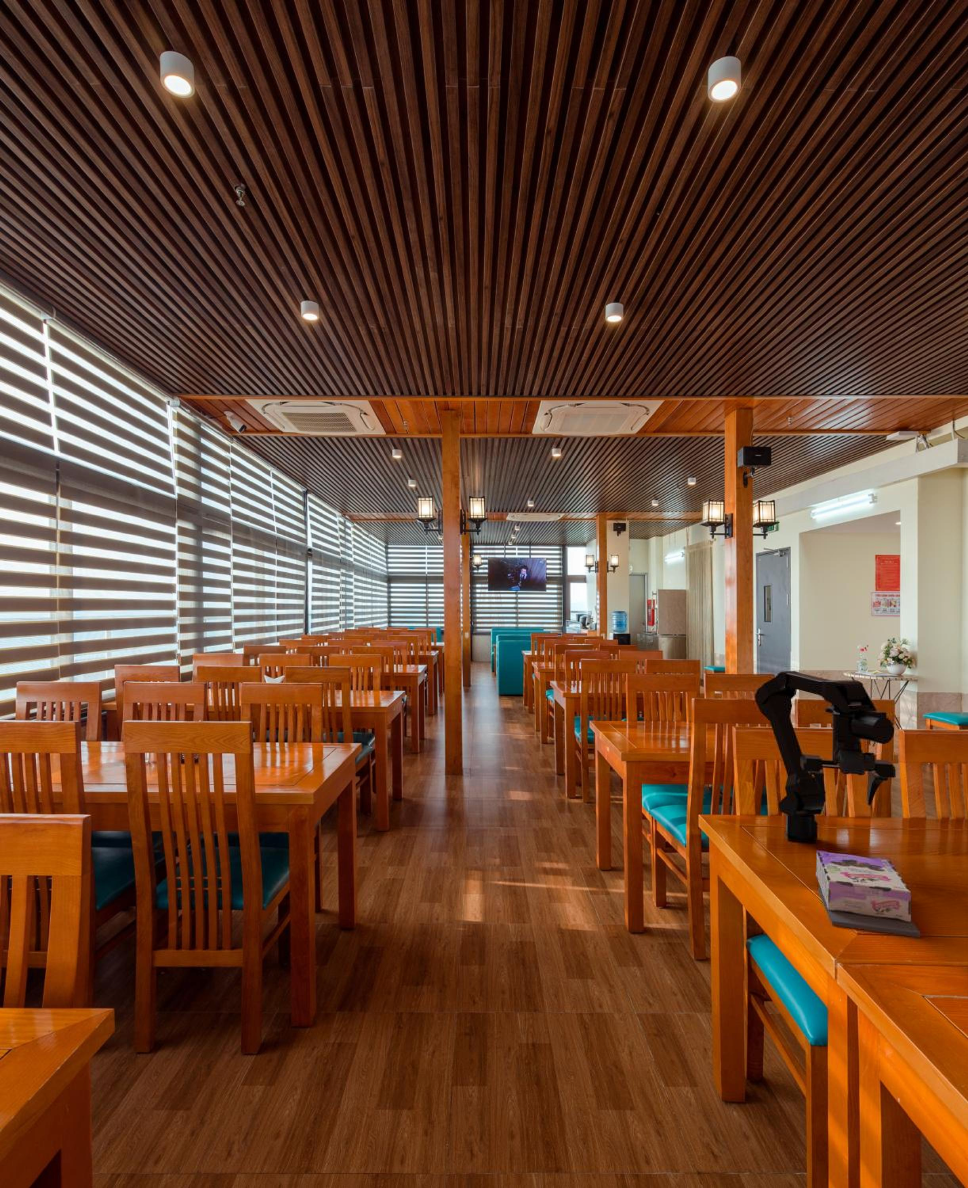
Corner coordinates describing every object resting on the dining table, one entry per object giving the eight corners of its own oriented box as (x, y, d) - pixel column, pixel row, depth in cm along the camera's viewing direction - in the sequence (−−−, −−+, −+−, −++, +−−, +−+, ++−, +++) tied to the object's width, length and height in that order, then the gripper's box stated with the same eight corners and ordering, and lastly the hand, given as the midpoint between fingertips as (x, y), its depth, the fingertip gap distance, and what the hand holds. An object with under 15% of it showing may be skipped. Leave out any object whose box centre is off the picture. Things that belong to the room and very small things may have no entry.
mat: (832, 925, 122) (832, 920, 123) (818, 891, 137) (818, 887, 137) (920, 937, 118) (920, 933, 118) (896, 901, 133) (896, 897, 133)
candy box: (890, 858, 137) (912, 891, 122) (889, 887, 137) (912, 924, 122) (815, 849, 142) (828, 879, 126) (815, 877, 142) (827, 910, 126)
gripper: (807, 738, 149) (806, 809, 149) (902, 745, 144) (902, 818, 144) (800, 729, 160) (799, 795, 160) (888, 735, 154) (888, 803, 154)
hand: (846, 803), depth 154 cm, fingers open, 9 cm apart
